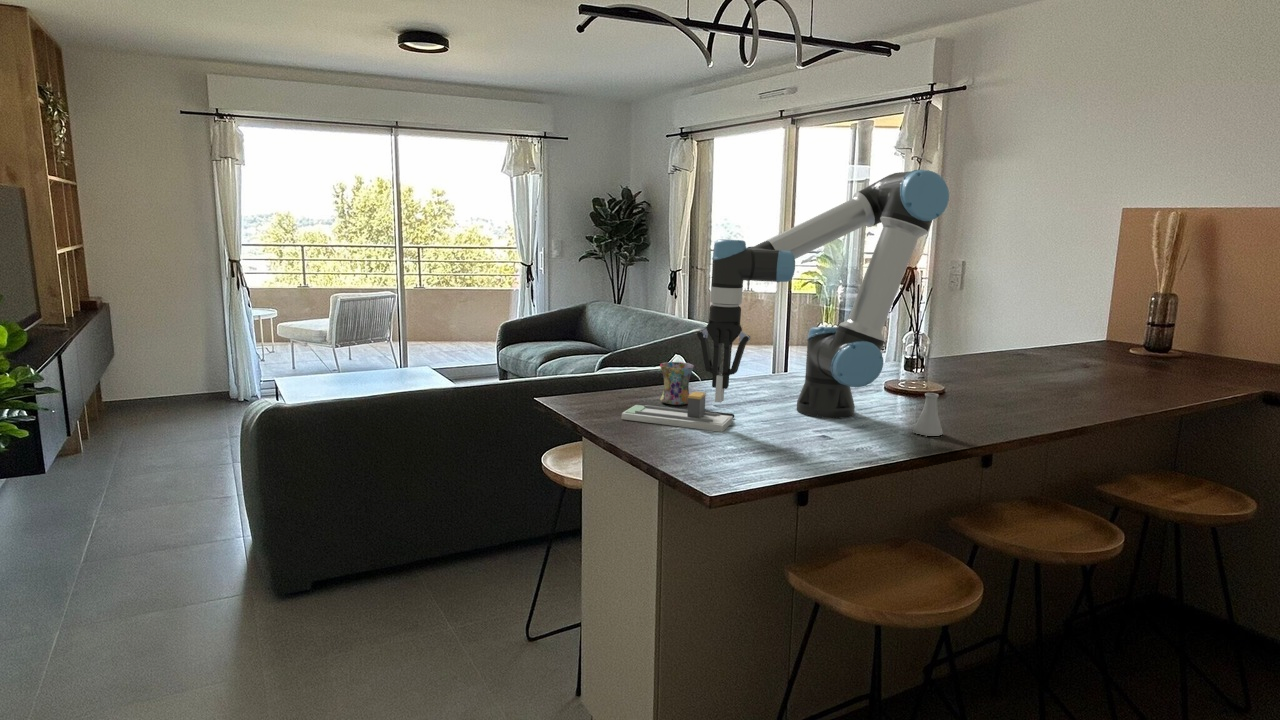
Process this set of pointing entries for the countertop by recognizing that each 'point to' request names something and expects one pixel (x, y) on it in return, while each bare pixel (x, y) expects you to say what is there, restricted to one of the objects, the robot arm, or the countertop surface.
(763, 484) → the countertop surface
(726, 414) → the cable
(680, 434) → the countertop surface
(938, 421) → the flask
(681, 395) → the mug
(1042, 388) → the countertop surface
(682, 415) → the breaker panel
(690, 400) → the block
